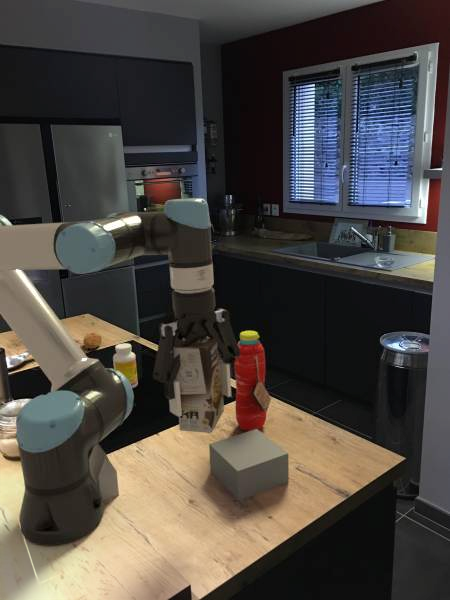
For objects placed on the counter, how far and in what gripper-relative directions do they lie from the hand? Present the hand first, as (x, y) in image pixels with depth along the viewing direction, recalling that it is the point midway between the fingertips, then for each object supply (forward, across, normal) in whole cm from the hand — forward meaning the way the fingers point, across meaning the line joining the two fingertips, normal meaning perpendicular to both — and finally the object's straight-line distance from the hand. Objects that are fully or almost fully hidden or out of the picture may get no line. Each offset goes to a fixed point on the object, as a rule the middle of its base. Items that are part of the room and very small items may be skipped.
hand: (201, 403), depth 98 cm
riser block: (+22, +12, +2) cm, 25 cm away
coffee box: (+4, 0, 0) cm, 4 cm away
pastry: (+20, +20, +102) cm, 106 cm away
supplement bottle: (+21, +15, +62) cm, 67 cm away
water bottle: (+22, +26, +16) cm, 38 cm away
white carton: (+21, -14, +18) cm, 31 cm away
